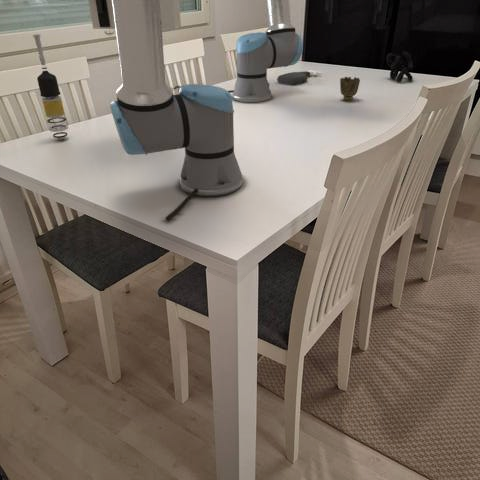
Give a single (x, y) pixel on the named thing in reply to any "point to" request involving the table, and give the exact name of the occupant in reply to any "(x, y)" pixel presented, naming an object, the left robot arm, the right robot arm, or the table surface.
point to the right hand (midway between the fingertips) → (351, 23)
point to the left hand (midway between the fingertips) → (109, 25)
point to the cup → (349, 87)
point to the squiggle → (399, 66)
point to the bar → (168, 14)
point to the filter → (50, 95)
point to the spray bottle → (295, 77)
